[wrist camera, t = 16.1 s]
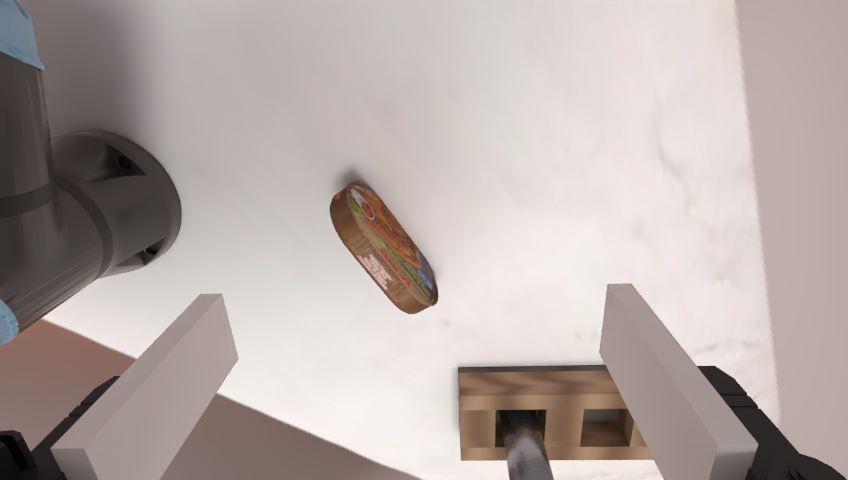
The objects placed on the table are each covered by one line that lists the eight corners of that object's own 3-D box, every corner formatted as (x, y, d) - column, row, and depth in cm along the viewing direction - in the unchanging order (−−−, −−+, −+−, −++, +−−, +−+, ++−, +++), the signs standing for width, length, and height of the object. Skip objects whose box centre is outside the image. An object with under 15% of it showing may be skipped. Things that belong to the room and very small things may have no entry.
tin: (440, 278, 52) (440, 318, 44) (418, 291, 53) (413, 333, 45) (359, 170, 47) (343, 195, 40) (336, 187, 48) (316, 214, 41)
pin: (497, 418, 58) (517, 543, 43) (497, 390, 57) (517, 510, 42) (532, 417, 58) (564, 542, 43) (533, 389, 56) (566, 510, 42)
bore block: (459, 429, 61) (461, 460, 56) (458, 367, 57) (459, 395, 52) (645, 427, 59) (662, 459, 55) (657, 364, 55) (676, 393, 51)
